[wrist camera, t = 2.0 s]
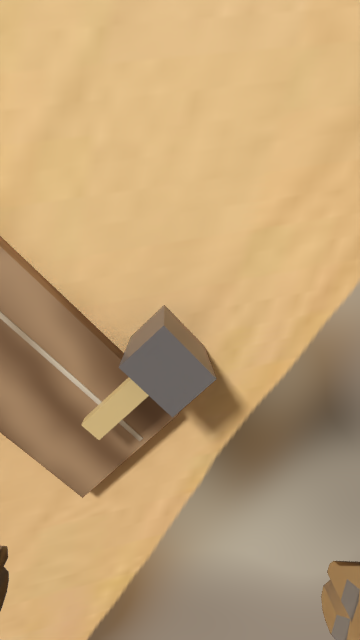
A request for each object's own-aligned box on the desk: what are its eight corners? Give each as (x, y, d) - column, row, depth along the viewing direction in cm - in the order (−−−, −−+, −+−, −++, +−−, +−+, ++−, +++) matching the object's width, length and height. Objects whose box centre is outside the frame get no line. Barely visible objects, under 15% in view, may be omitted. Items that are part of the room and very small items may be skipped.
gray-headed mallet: (123, 418, 28) (109, 472, 21) (82, 381, 27) (55, 426, 20) (204, 345, 27) (216, 378, 20) (164, 305, 26) (163, 325, 19)
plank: (87, 484, 30) (82, 498, 28) (-178, 270, 24) (-204, 272, 23) (178, 404, 28) (178, 414, 26) (-84, 157, 23) (-103, 150, 21)
